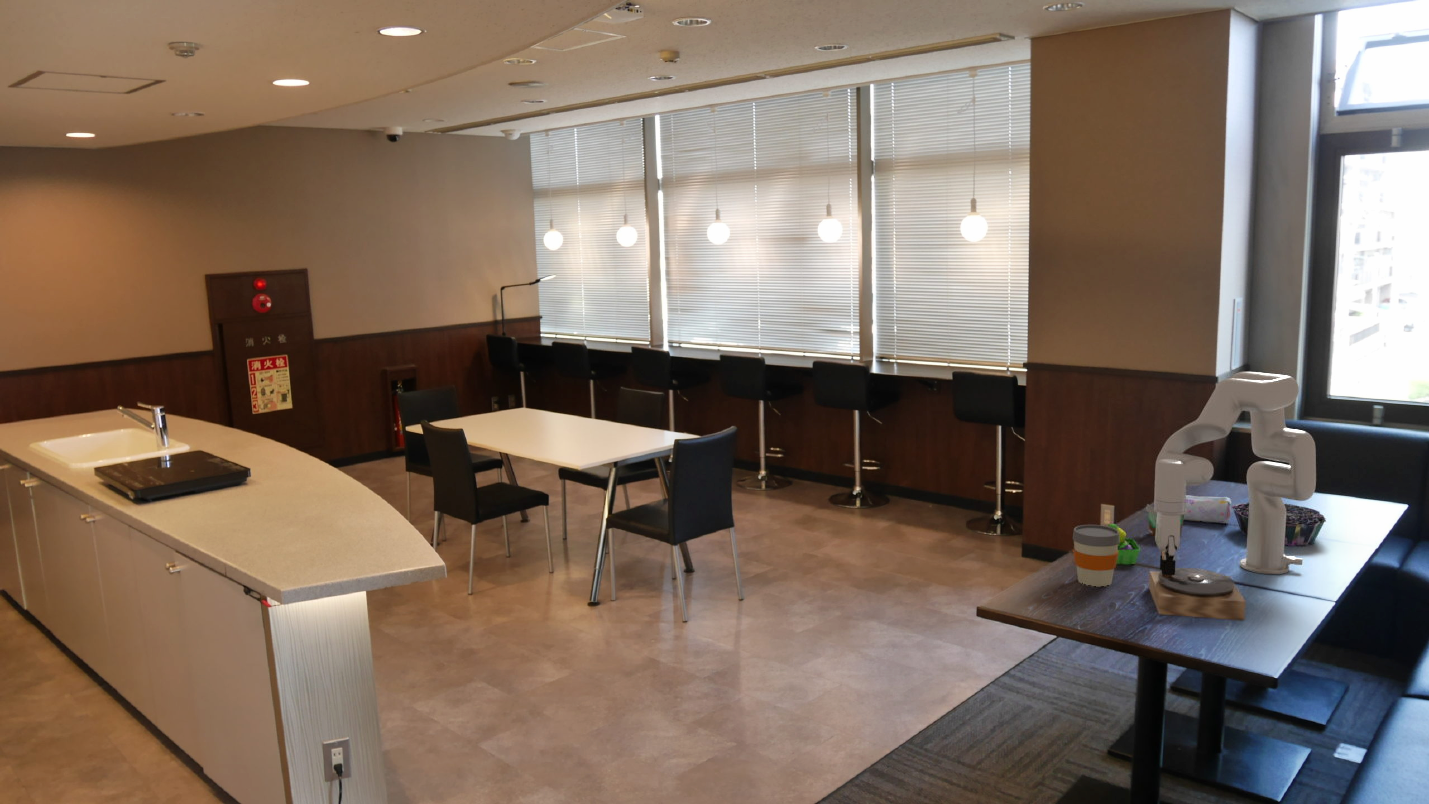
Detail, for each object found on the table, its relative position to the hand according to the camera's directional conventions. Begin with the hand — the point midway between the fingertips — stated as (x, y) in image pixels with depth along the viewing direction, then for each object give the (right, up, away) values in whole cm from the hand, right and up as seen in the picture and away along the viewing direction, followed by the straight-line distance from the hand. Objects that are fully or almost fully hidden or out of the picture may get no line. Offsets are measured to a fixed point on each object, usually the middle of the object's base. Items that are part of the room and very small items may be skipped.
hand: (1167, 571), depth 265 cm
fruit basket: (+2, -3, +36) cm, 36 cm away
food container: (+25, +1, +57) cm, 62 cm away
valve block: (+7, -8, -1) cm, 11 cm away
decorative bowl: (+61, +2, +54) cm, 81 cm away
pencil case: (+44, +5, +75) cm, 87 cm away
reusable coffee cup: (-13, -6, +18) cm, 23 cm away
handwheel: (+6, -3, -2) cm, 7 cm away
